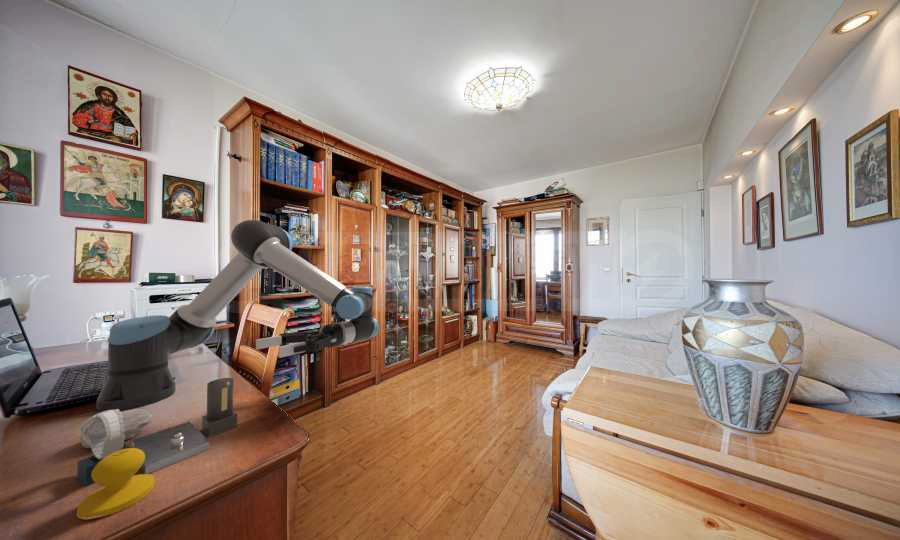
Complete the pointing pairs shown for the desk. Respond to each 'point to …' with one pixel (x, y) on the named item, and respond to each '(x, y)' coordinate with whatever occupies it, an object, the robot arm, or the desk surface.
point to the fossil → (128, 424)
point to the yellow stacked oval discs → (117, 483)
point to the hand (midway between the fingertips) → (267, 348)
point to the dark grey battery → (219, 407)
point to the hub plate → (170, 446)
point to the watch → (96, 431)
